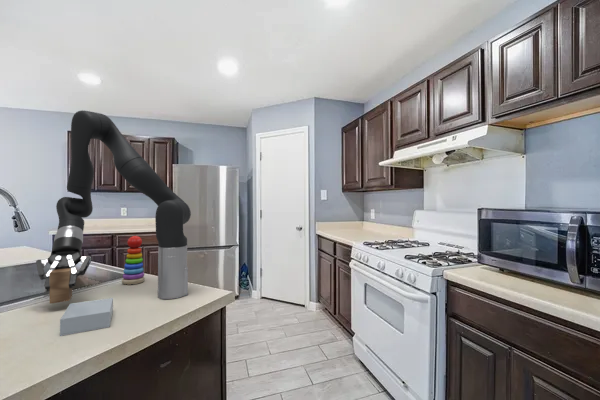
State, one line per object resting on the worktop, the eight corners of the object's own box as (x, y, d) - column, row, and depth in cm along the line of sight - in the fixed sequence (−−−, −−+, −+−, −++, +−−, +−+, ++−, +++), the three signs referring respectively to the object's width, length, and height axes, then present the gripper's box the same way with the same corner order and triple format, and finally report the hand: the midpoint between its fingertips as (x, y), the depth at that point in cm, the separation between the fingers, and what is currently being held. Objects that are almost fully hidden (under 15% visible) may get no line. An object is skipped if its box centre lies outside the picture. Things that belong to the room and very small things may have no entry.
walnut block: (72, 296, 88) (72, 267, 88) (69, 300, 84) (69, 271, 84) (53, 299, 86) (53, 269, 86) (49, 303, 82) (49, 273, 82)
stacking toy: (119, 286, 107) (120, 237, 107) (123, 280, 115) (124, 235, 115) (143, 284, 110) (143, 236, 111) (145, 278, 118) (146, 234, 118)
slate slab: (112, 311, 83) (113, 297, 83) (109, 326, 73) (109, 311, 73) (70, 317, 78) (70, 303, 78) (59, 335, 68) (60, 319, 68)
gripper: (37, 237, 88) (24, 285, 77) (93, 234, 95) (88, 278, 85) (42, 251, 92) (30, 298, 82) (95, 247, 100) (90, 290, 89)
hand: (59, 287), depth 83 cm, fingers closed on walnut block, 4 cm apart
